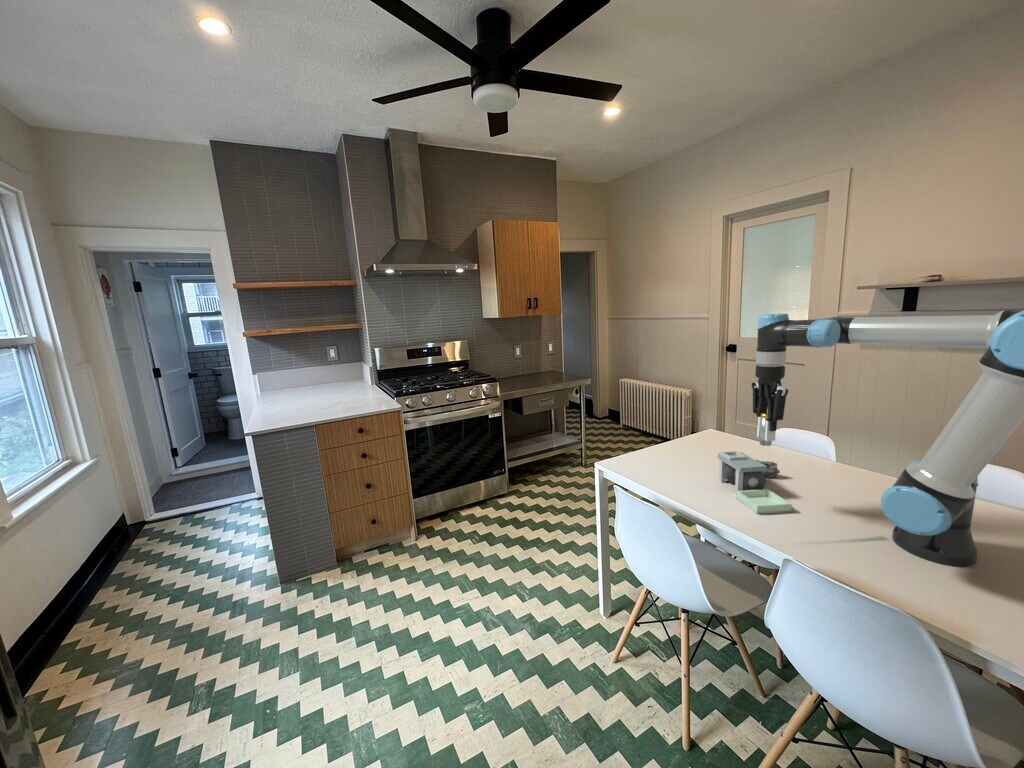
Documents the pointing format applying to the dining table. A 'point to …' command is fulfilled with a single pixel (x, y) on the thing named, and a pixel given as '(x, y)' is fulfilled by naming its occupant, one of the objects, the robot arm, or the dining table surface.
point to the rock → (770, 469)
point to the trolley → (741, 471)
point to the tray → (763, 501)
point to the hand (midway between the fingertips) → (765, 438)
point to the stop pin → (762, 430)
